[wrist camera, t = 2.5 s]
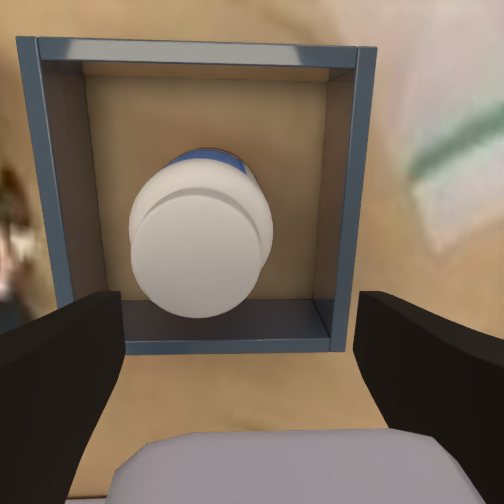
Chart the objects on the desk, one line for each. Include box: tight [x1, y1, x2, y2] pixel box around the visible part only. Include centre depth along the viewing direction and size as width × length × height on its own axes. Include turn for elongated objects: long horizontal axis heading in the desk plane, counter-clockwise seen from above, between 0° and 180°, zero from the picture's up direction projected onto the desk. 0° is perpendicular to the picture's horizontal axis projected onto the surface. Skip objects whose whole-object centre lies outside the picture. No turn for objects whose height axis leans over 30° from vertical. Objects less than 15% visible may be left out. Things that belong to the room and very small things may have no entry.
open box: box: [16, 36, 377, 355], centre depth 19 cm, size 14×14×4 cm
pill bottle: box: [129, 148, 273, 318], centre depth 16 cm, size 6×5×10 cm
